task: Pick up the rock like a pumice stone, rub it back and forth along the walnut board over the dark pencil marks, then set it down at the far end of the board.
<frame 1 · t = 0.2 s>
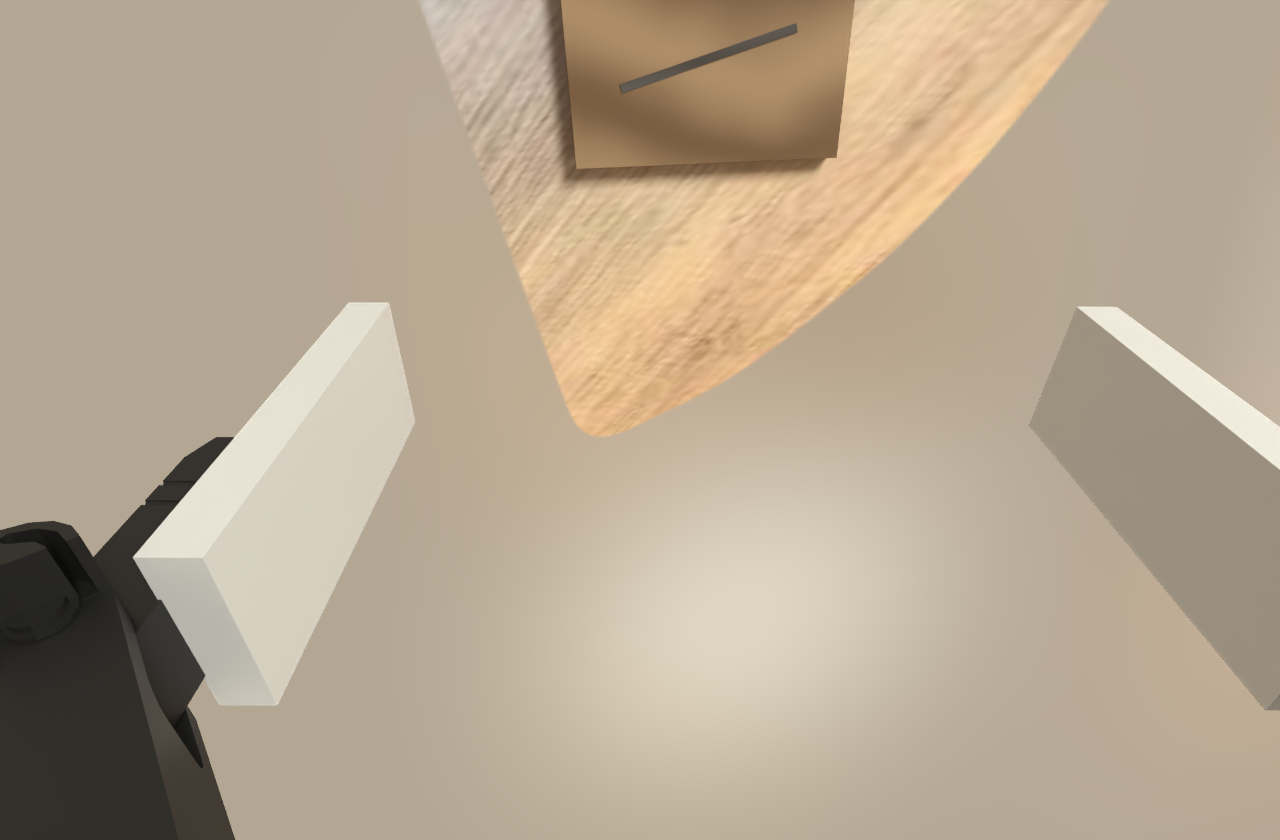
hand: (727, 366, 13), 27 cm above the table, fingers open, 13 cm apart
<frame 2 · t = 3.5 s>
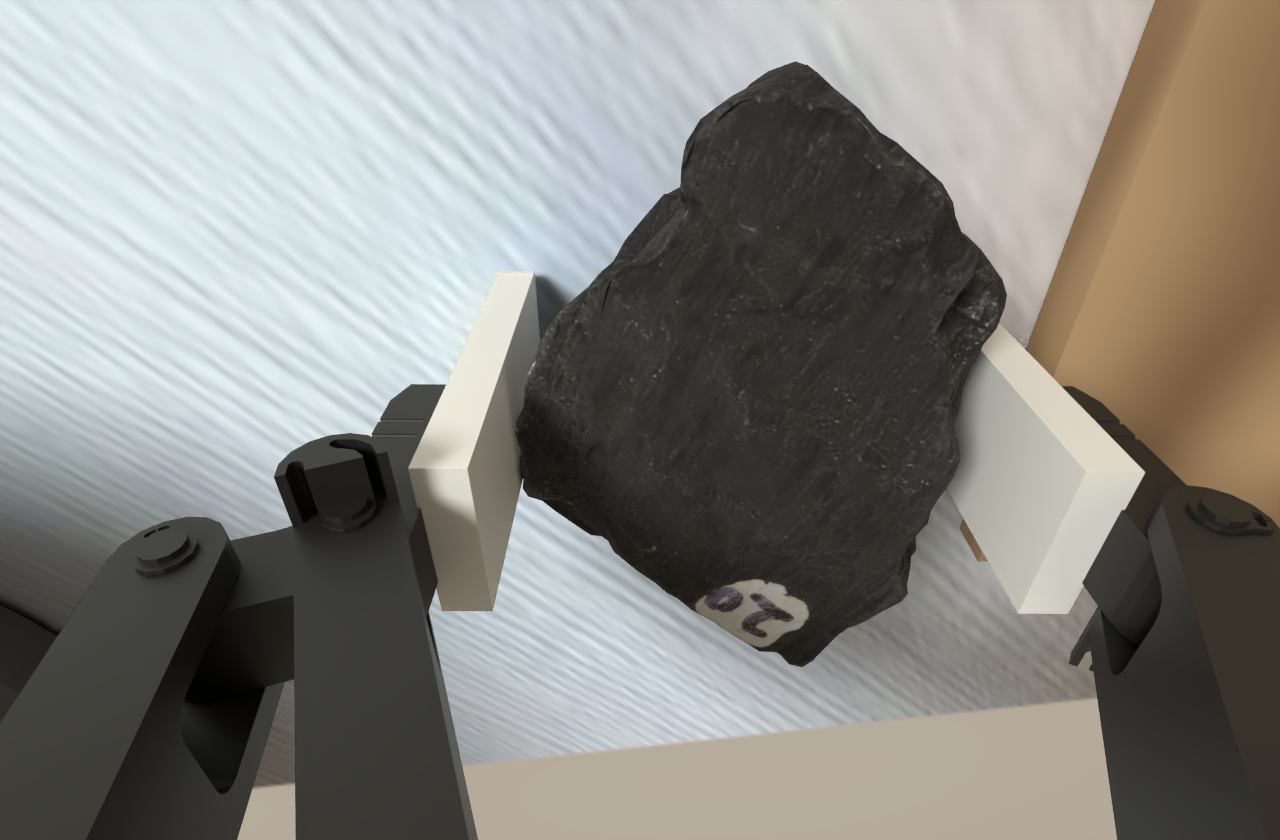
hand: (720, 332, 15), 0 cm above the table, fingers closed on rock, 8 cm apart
rock: (740, 336, 15), on the table, touching gripper
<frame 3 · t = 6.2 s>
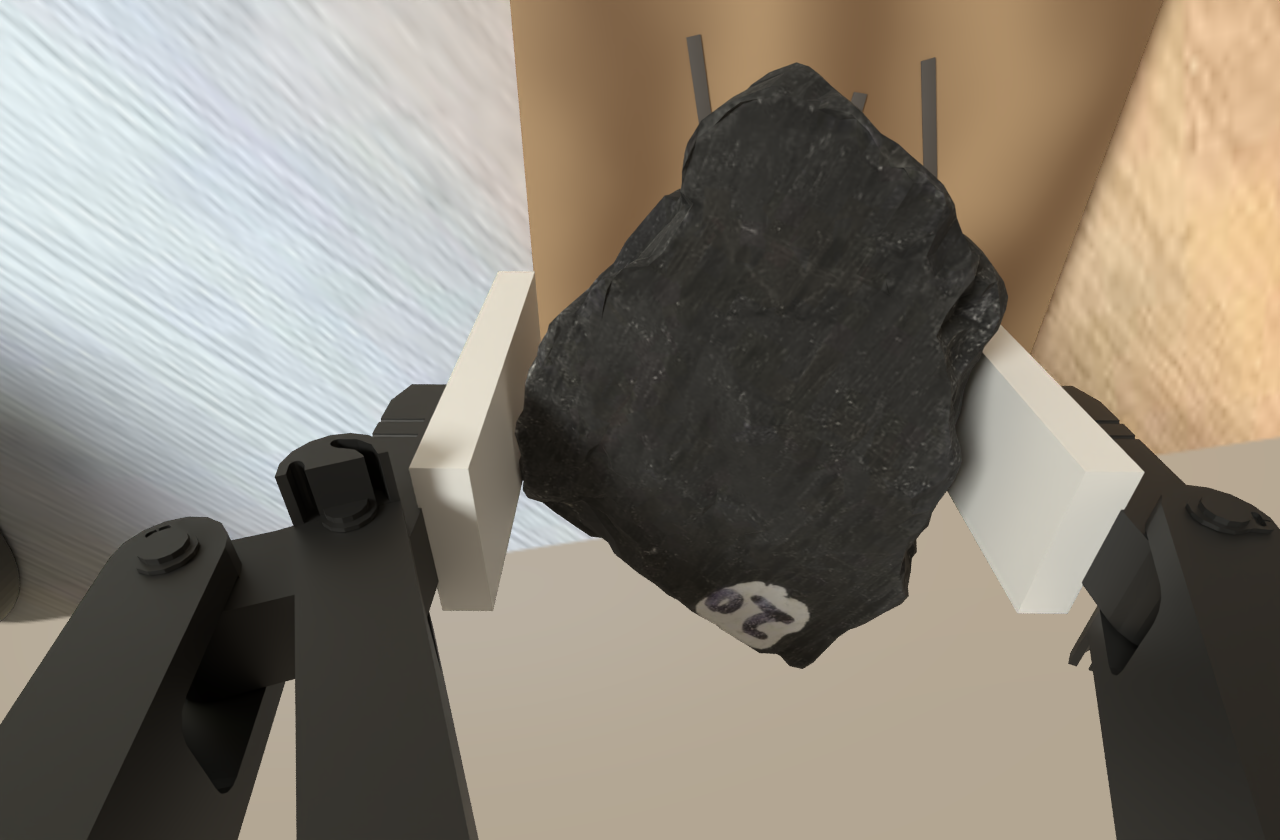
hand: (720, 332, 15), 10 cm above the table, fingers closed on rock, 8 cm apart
rock: (740, 337, 15), point 9 cm above the table, touching gripper
board: (799, 199, 23), on the table
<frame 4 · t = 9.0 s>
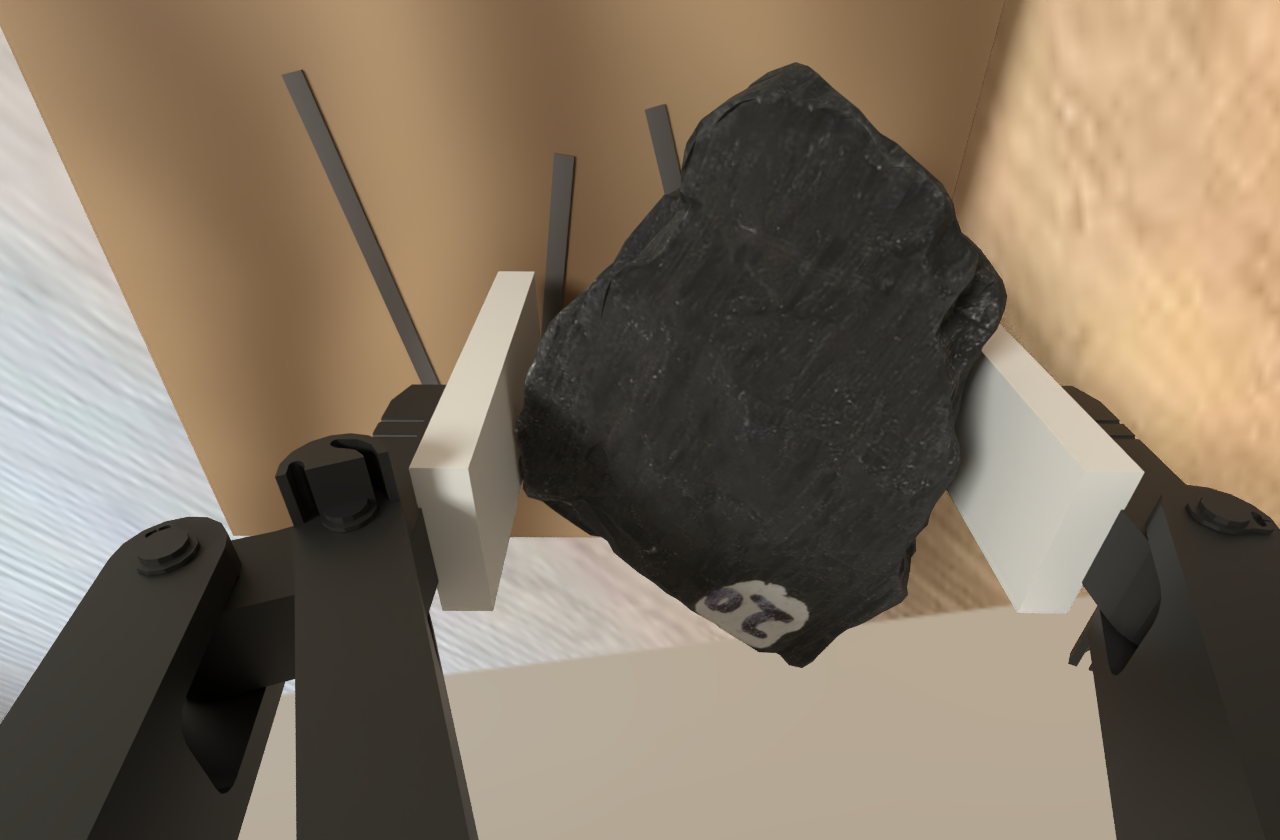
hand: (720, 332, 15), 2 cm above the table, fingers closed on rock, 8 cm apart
rock: (740, 337, 15), point 2 cm above the table, touching gripper
board: (533, 291, 16), on the table
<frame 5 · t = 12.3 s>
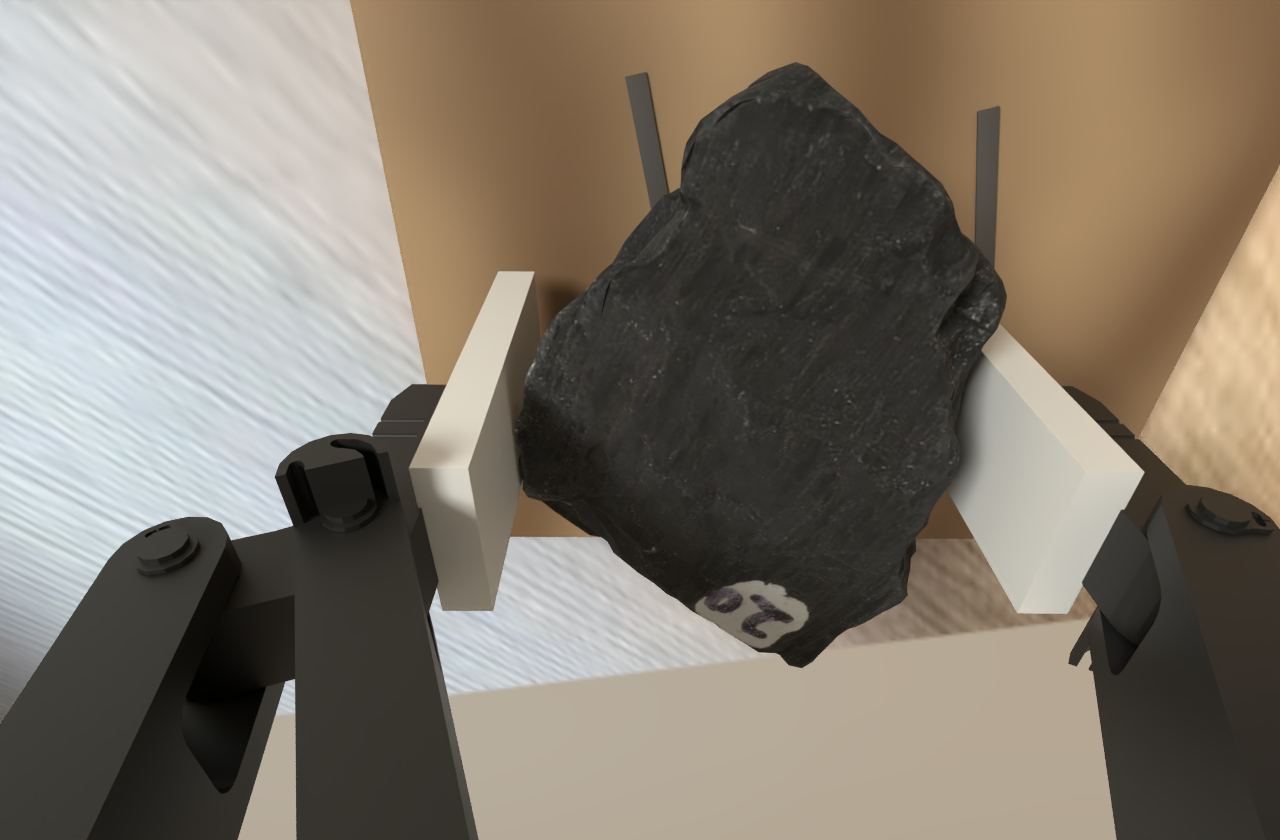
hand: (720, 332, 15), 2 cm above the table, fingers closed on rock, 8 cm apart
rock: (740, 337, 15), point 2 cm above the table, touching gripper
board: (797, 293, 16), on the table
when the fingers open (2 cm above the table, at t = 14.9 s): rock stays where it is, resting on board.
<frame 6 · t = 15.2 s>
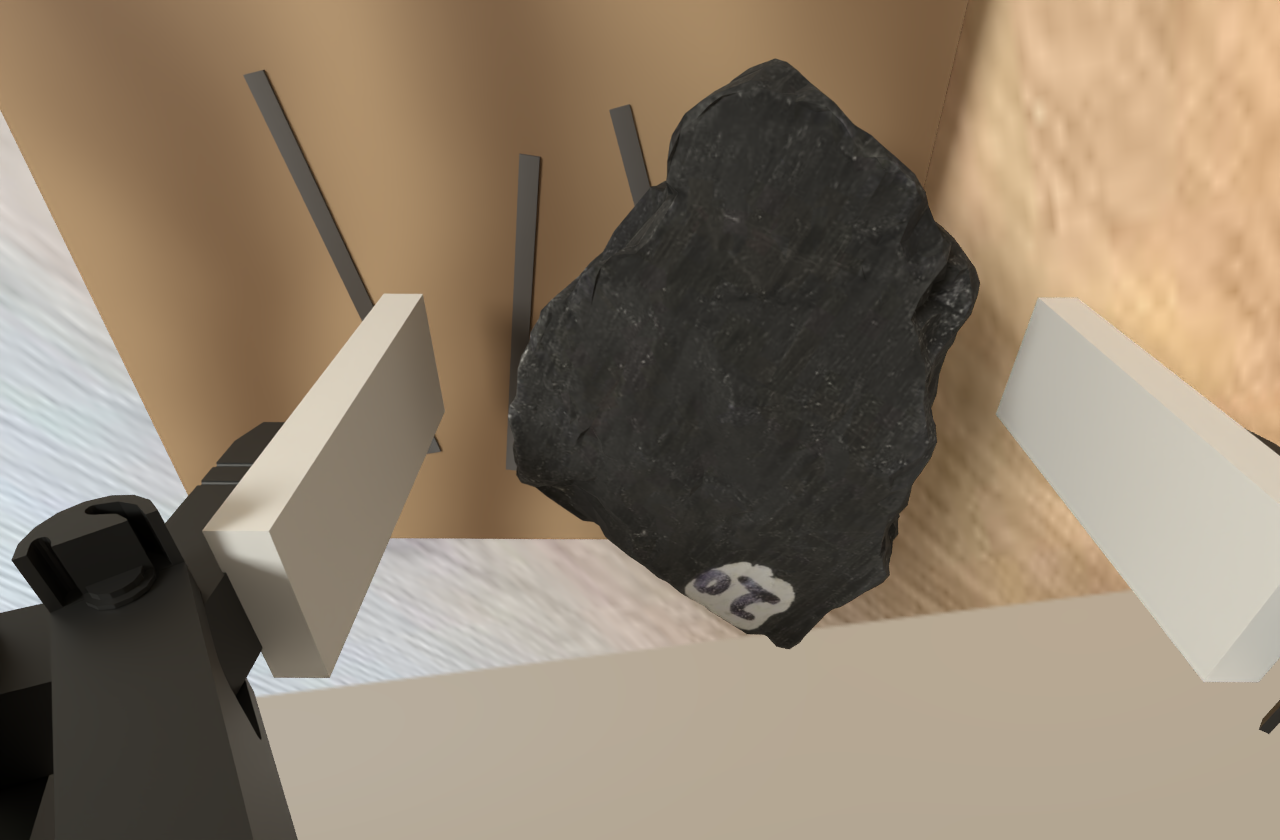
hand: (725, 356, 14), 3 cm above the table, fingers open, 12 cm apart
rock: (727, 328, 16), point 1 cm above the table, touching board
board: (505, 292, 16), on the table
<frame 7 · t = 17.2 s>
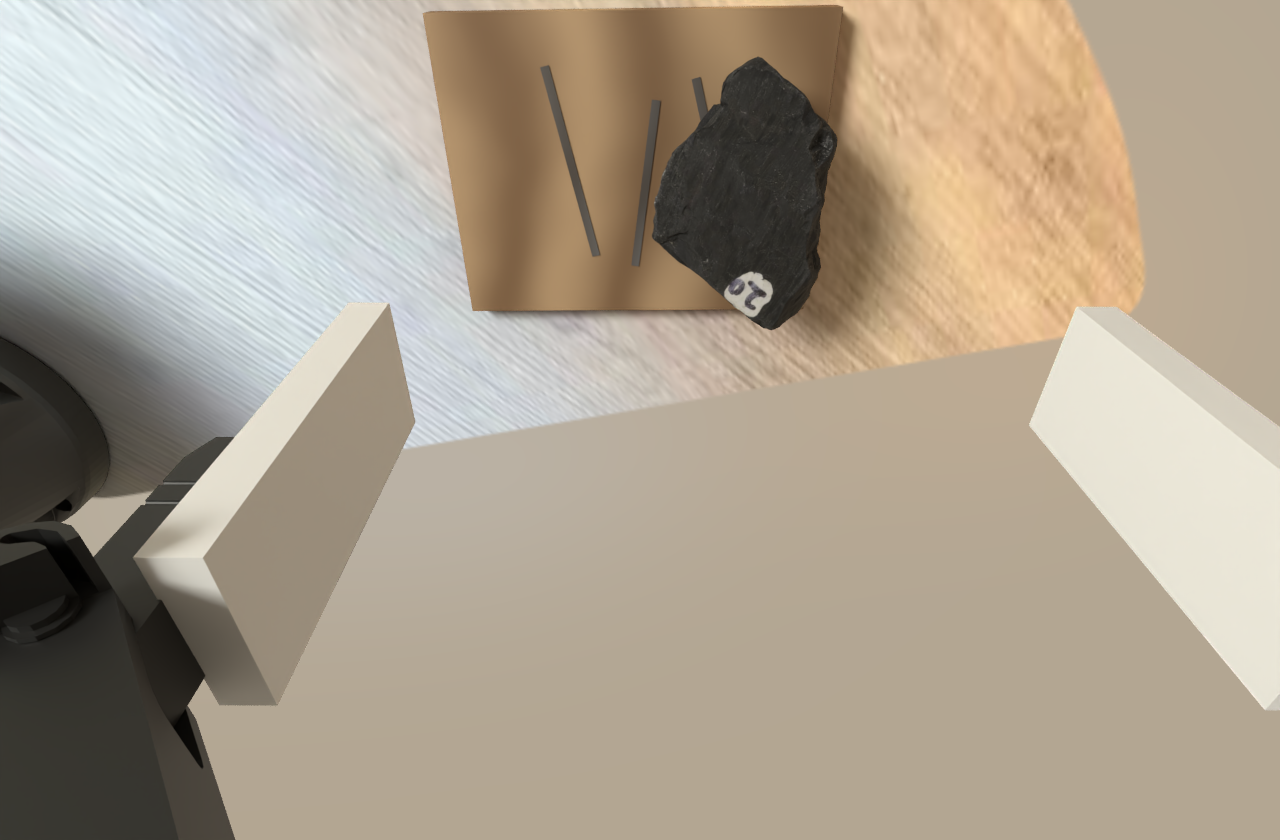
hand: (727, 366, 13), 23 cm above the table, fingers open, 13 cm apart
rock: (742, 184, 33), point 1 cm above the table, touching board
board: (635, 171, 34), on the table
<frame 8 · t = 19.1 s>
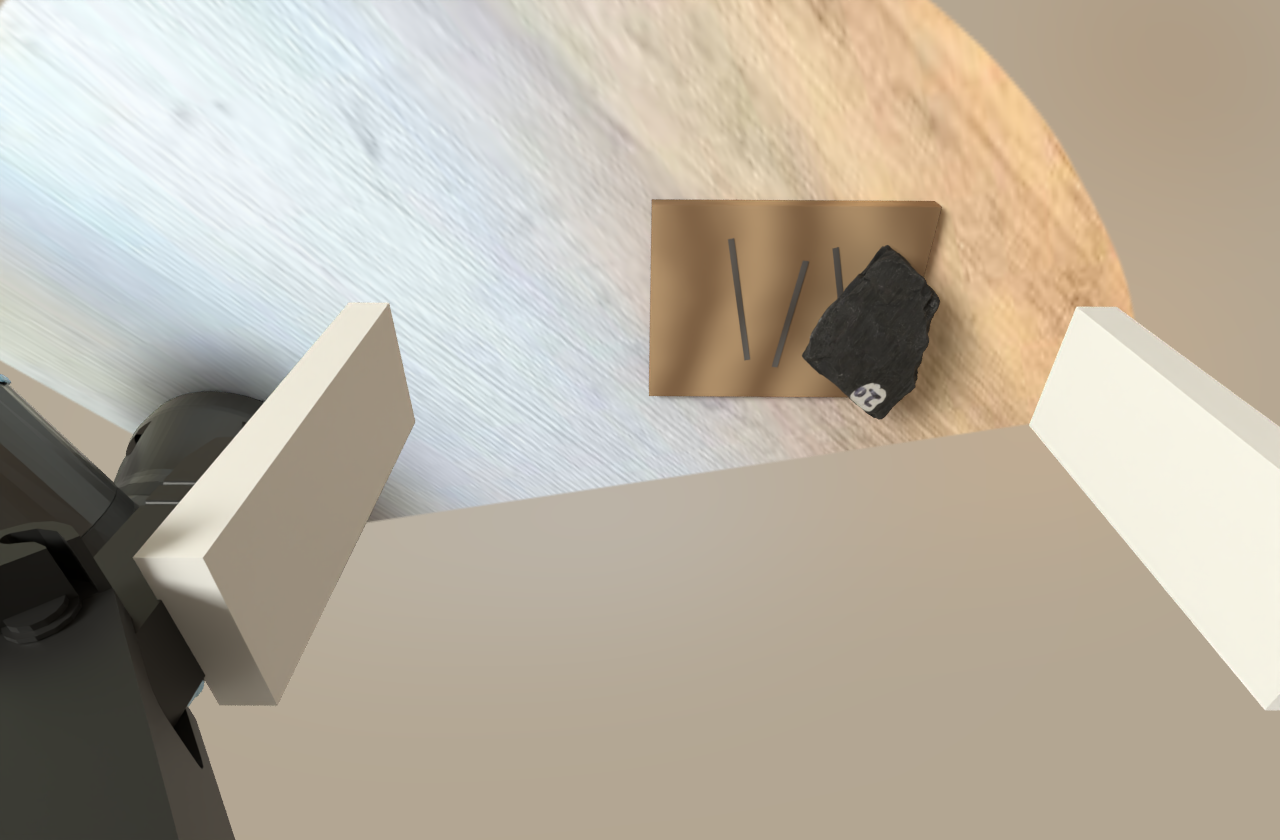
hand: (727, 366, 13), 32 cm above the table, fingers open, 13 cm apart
rock: (858, 314, 46), point 1 cm above the table, touching board
board: (779, 302, 47), on the table
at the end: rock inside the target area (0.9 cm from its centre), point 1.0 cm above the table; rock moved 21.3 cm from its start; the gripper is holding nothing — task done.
